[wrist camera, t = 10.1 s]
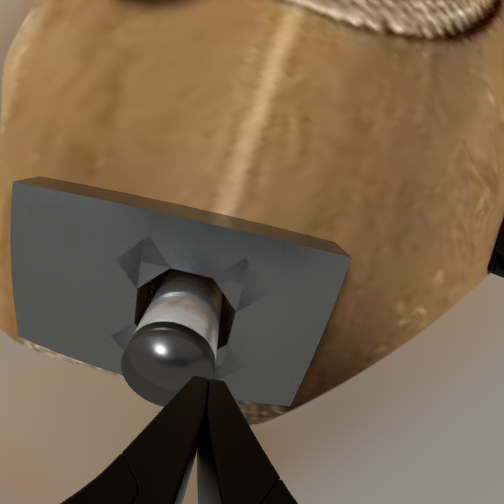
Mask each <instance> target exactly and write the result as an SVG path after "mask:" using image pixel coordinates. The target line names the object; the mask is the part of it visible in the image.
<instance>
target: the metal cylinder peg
mask: <svg viewBox="0 0 504 504" xmlns="http://www.w3.org/2000/svg"><path fill="white" fill-rule="evenodd" d="M221 305H222V291H221V289H220V288H219V286H218V285H217V283H216V282H215V281H214V279H213V278H210V277H206V276H202V275H197V274H193V273H189V272H184V271H180V270H176V269H173V270H172V271H170V272H169V273H168V274H167V275H166V277H165V278H164V280H163V282H162V283H161V285H160V287H159V289H158V290H157V292H156V294H155V296H154V298H153V299H152V301H151V303H150V305H149V307H148V308H147V310H146V312H145V314H144V316H143V318H142V319H141V321H140V323H139V325H138V327H137V329H136V330H135V332H134V334H133V336H132V338H131V340H130V342H129V344H128V346H127V348H126V349H125V351H124V353H123V356H122V359H121V369H122V373H123V376H124V378H125V380H126V382H127V383H128V385H129V386H130V387H131V388H132V389H133V390H134V391H135V392H136V393H137V394H138V395H140V396H141V397H142V398H144V399H146V400H148V401H150V402H151V403H154V404H157V405H160V406H163V407H165V406H166V405H167V404H168V403H169V401H170V400H171V399H172V398H173V397H174V396H175V395H176V394H177V393H178V391H179V390H180V389H181V388H182V387H183V386H184V385H185V384H186V383H187V381H188V380H189V379H190V378H191V377H192V376H200V377H205V378H207V379H208V381H209V380H210V379H214V376H215V365H216V354H217V344H218V334H219V324H220V315H221Z"/></svg>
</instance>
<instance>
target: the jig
mask: <svg viewBox="0 0 504 504" xmlns="http://www.w3.org/2000/svg"><path fill="white" fill-rule="evenodd" d="M10 238H11V270H12V284H13V295H14V304H15V312H16V319H17V326H18V332H19V336H20V337H22V338H24V339H26V340H29V341H31V342H33V343H36V344H38V345H40V346H43V347H45V348H48V349H50V350H53V351H55V352H58V353H60V354H63V355H65V356H68V357H71V358H74V359H76V360H79V361H82V362H85V363H88V364H91V365H94V366H97V367H100V368H103V369H106V370H109V371H112V372H115V373H119V374H122V375H123V373H122V369H121V359H122V356H123V353H124V351H125V349H126V348H127V346H128V344H129V342H130V340H131V338H132V336H133V334H134V332H135V330H136V329H137V327H138V325H139V323H140V321H141V319H142V318H143V316H144V314H145V312H146V310H147V308H148V307H149V305H150V303H149V302H148V301H147V297H148V289H149V281H150V280H152V279H153V278H155V277H156V276H158V275H160V274H161V273H163V272H164V271H166V270H168V269H169V268H171V269H176V270H180V271H184V272H189V273H193V274H197V275H202V276H206V277H210V278H213V279H214V281H215V282H216V283H217V285H218V286H219V288H220V289H221V291H222V292H223V293H224V295H225V296H226V298H227V299H228V301H229V302H230V303H231V305H232V306H231V310H230V314H229V318H228V319H227V320H225V321H223V322H221V323H220V324H219V334H218V344H217V354H216V365H215V376H214V379H215V380H221V381H224V382H225V383H226V384H227V386H228V388H229V390H230V392H231V394H232V396H233V397H234V399H235V400H241V401H247V402H255V403H263V404H271V405H281V406H290V405H291V403H292V401H293V399H294V397H295V395H296V393H297V391H298V389H299V386H300V384H301V382H302V380H303V378H304V376H305V373H306V371H307V369H308V367H309V365H310V362H311V360H312V358H313V356H314V353H315V351H316V349H317V346H318V344H319V342H320V339H321V337H322V335H323V332H324V330H325V327H326V325H327V322H328V320H329V317H330V315H331V312H332V310H333V307H334V305H335V302H336V300H337V297H338V294H339V292H340V289H341V286H342V284H343V281H344V278H345V275H346V273H347V270H348V267H349V264H350V261H351V259H352V258H351V257H350V256H349V255H348V254H347V253H346V252H345V251H344V250H343V249H342V248H341V247H340V246H338V245H337V244H336V243H335V242H332V241H328V240H324V239H320V238H316V237H312V236H308V235H304V234H300V233H296V232H292V231H288V230H284V229H280V228H276V227H272V226H268V225H264V224H260V223H256V222H252V221H247V220H243V219H239V218H235V217H231V216H226V215H222V214H218V213H213V212H209V211H205V210H200V209H196V208H191V207H187V206H182V205H178V204H173V203H169V202H164V201H160V200H155V199H150V198H146V197H141V196H136V195H131V194H126V193H122V192H117V191H112V190H107V189H102V188H97V187H92V186H87V185H82V184H76V183H71V182H66V181H61V180H55V179H50V178H44V177H35V178H29V179H24V180H19V181H14V182H13V188H12V202H11V233H10Z"/></svg>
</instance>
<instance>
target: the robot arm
mask: <svg viewBox="0 0 504 504" xmlns="http://www.w3.org/2000/svg"><path fill="white" fill-rule="evenodd" d="M488 270H489V272H491V273H493V274H495V275H498V276H501V277H504V220H503V224H502V227H501V231H500V234H499V237H498V240H497V243H496V246H495V250H494V252H493V255H492V258H491V261H490V264H489V267H488ZM196 452H197V487H198V504H298V503H297V502H296V500H295V499H294V498H293V496H292V495H291V493H290V492H289V491H288V489H287V487H286V486H285V484H284V483H283V481H282V480H279V479H280V477H279V475H278V473H277V472H276V470H275V469H274V467H273V465H272V464H271V462H270V460H269V459H268V457H267V455H266V454H265V452H264V450H263V449H262V447H261V445H260V444H259V442H258V440H257V439H256V437H255V435H254V434H253V432H252V430H251V428H250V426H249V425H248V423H247V421H246V419H245V418H244V416H243V414H242V412H241V410H240V409H239V407H238V405H237V403H236V401H235V399H234V397H233V396H232V394H231V392H230V390H229V388H228V386H227V384H226V383H225V382H224V381H221V380H215V379H210V380H209V381H208V379H207V378H205V377H200V376H192V377H191V378H190V379H189V380H188V381H187V383H186V384H185V385H184V386H183V387H182V388H181V389H180V390H179V391H178V393H177V394H176V395H175V396H174V397H173V398H172V399H171V400H170V401H169V403H168V404H167V405H166V406H165V407H164V408H163V409H162V410H161V411H160V412H159V413H158V415H157V416H156V417H155V418H154V419H153V420H152V421H151V422H150V423H149V424H148V425H147V426H146V428H145V429H144V430H143V431H142V432H141V433H140V434H139V435H138V436H137V437H136V438H135V439H134V440H133V441H132V442H131V443H130V445H129V446H128V447H127V448H126V449H125V450H124V451H123V452H122V454H120V455H119V456H118V457H117V458H116V459H115V460H114V461H113V462H112V463H111V464H110V465H109V466H108V467H107V468H106V469H105V470H104V471H103V472H102V473H101V474H99V475H98V476H97V477H96V478H95V479H94V480H92V481H91V482H90V483H89V484H87V485H86V486H85V487H83V488H82V489H81V490H79V491H78V492H76V493H75V494H74V495H72V496H71V497H69V498H68V499H66V500H65V501H63V502H62V503H60V504H182V501H183V498H184V495H185V491H186V488H187V484H188V481H189V477H190V474H191V471H192V467H193V464H194V460H195V456H196Z"/></svg>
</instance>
